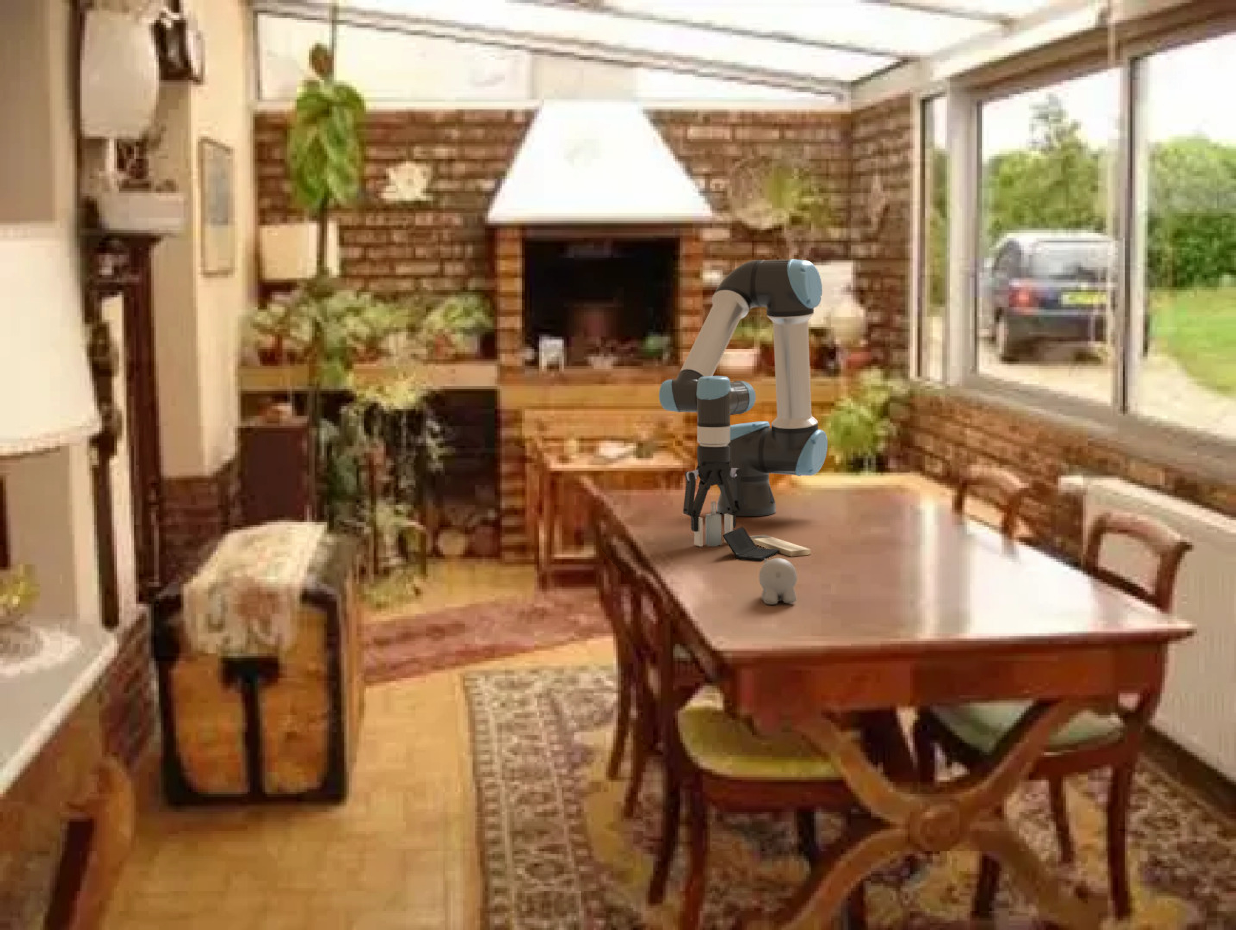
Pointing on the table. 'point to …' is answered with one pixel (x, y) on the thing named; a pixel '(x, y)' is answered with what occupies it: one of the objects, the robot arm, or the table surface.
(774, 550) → the handheld gaming console
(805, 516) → the table surface
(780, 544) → the batten
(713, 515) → the grey bottle
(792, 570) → the toy rhinoceros
